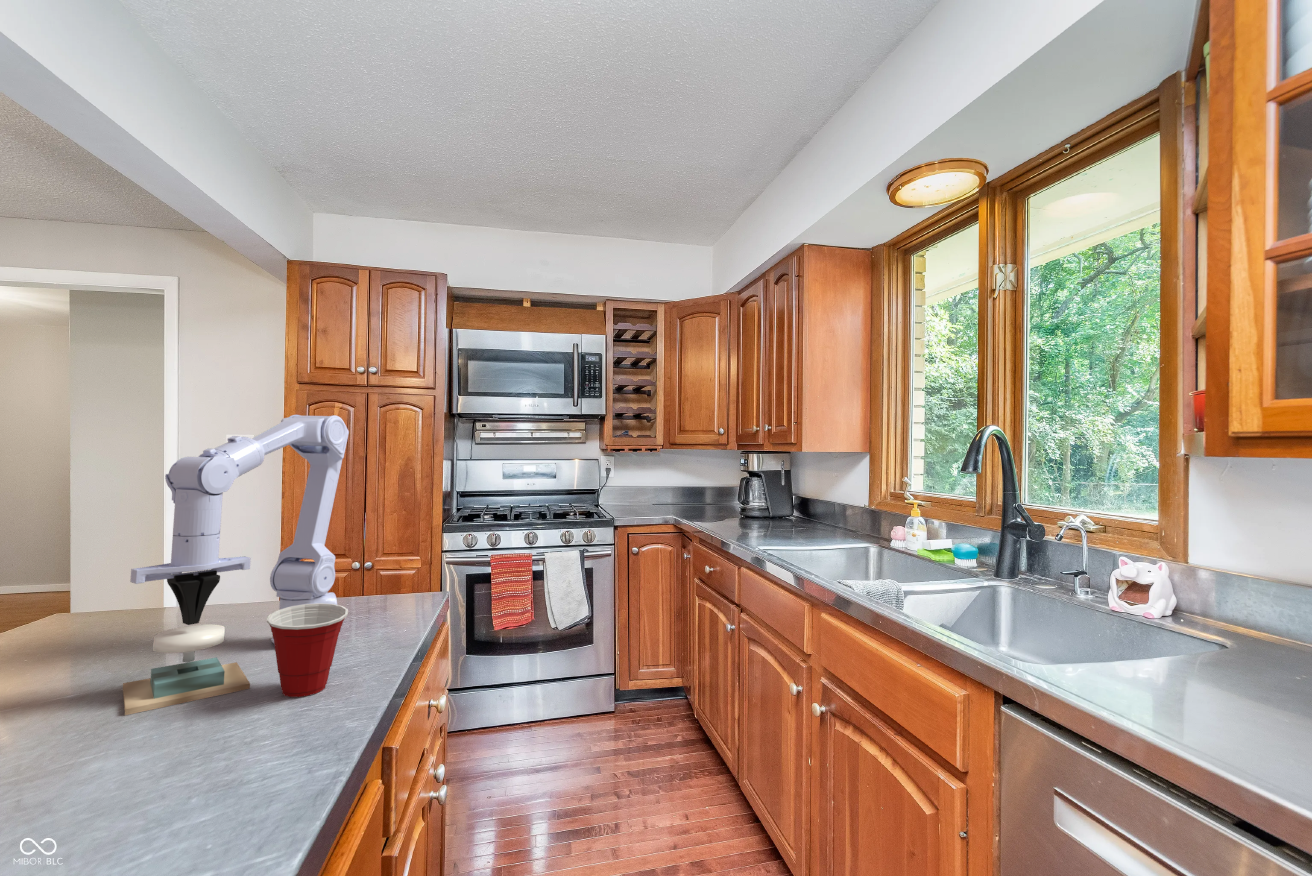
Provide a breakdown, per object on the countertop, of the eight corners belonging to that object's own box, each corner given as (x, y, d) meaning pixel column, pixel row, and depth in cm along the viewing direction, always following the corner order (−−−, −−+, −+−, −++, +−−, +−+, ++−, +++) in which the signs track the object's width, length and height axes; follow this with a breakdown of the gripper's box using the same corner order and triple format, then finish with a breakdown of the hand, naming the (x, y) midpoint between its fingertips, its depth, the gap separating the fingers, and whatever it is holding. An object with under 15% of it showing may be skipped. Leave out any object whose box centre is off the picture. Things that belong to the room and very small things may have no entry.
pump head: (218, 648, 92) (220, 621, 92) (227, 661, 86) (228, 633, 86) (150, 659, 86) (152, 631, 86) (153, 675, 80) (155, 644, 80)
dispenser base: (236, 667, 95) (237, 650, 95) (249, 688, 86) (250, 670, 87) (122, 688, 85) (123, 669, 85) (124, 715, 77) (126, 694, 77)
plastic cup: (264, 712, 79) (269, 625, 79) (259, 686, 87) (264, 608, 88) (350, 694, 86) (355, 614, 86) (338, 672, 94) (342, 599, 95)
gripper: (237, 528, 95) (232, 609, 95) (125, 536, 83) (118, 629, 82) (259, 531, 92) (253, 615, 91) (144, 540, 79) (137, 638, 78)
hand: (190, 623), depth 86 cm, fingers closed
